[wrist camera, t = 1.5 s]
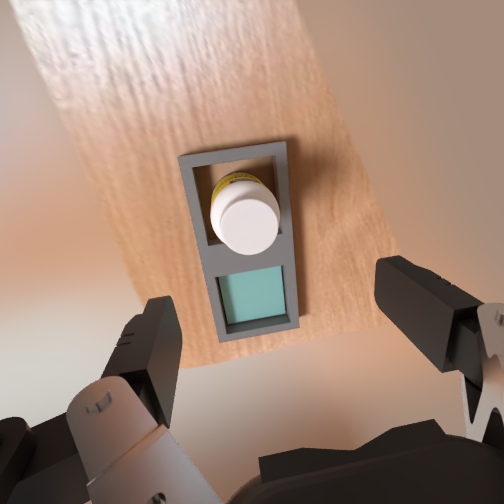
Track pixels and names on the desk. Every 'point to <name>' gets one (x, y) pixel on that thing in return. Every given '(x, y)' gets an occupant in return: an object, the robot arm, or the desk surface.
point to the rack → (247, 266)
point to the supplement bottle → (244, 213)
